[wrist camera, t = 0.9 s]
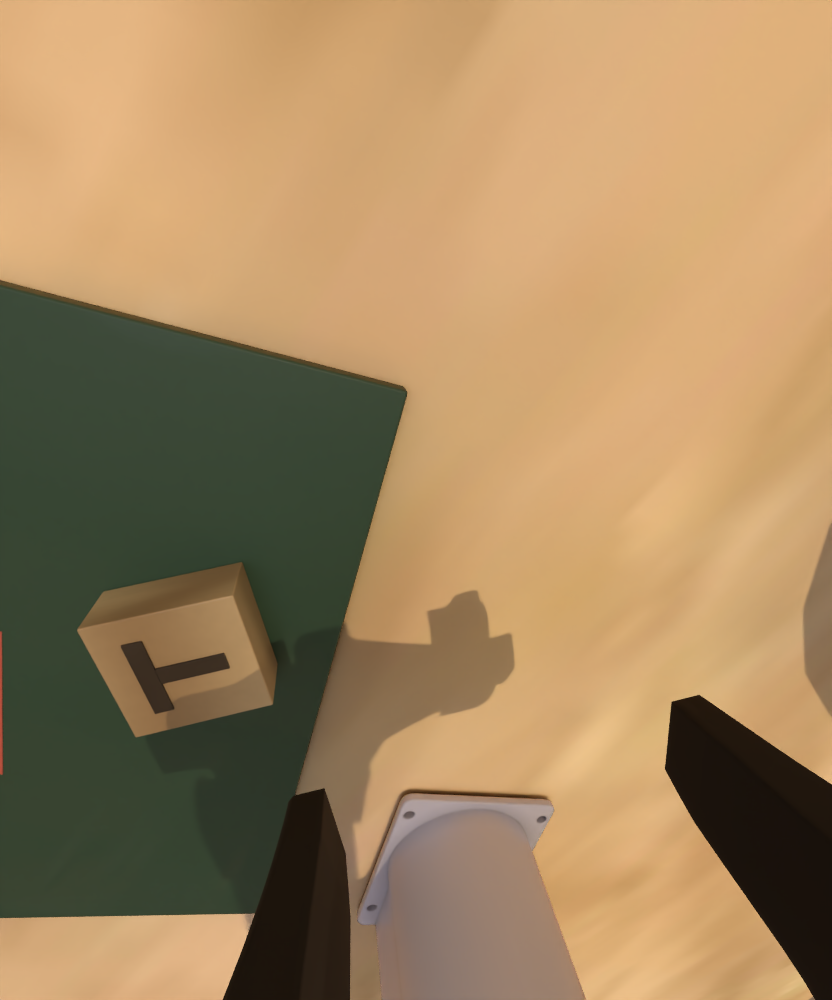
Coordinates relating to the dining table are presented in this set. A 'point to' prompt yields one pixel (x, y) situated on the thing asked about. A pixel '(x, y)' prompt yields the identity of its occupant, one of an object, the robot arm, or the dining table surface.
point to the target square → (1, 709)
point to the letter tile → (182, 649)
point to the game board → (153, 556)
